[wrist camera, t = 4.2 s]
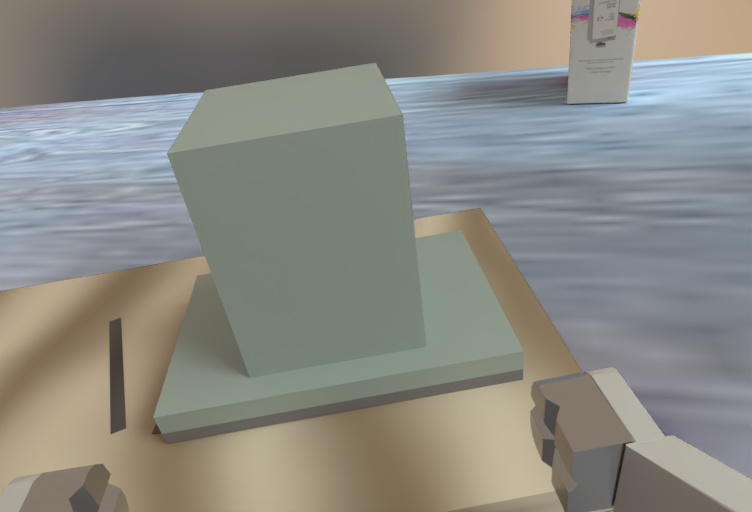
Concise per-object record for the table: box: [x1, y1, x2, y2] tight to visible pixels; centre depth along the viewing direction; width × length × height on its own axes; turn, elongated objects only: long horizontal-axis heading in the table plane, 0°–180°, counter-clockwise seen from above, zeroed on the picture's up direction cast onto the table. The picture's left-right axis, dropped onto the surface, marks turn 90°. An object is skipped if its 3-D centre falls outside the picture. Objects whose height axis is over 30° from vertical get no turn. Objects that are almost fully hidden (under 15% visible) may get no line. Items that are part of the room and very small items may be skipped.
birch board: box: [0, 208, 613, 512], centre depth 21 cm, size 26×16×2 cm, turn 97°
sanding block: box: [153, 63, 524, 444], centre depth 18 cm, size 12×8×9 cm, turn 97°
